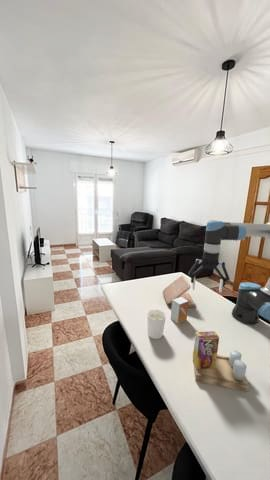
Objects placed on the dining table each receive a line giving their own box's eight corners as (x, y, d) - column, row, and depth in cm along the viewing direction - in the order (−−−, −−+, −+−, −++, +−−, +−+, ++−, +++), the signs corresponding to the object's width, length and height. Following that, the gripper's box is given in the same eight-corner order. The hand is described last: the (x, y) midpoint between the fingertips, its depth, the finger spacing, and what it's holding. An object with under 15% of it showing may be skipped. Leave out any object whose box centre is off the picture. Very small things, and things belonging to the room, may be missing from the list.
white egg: (237, 362, 88) (239, 350, 87) (240, 370, 84) (242, 358, 82) (227, 360, 89) (229, 348, 87) (229, 368, 84) (231, 356, 83)
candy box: (211, 360, 88) (215, 330, 85) (215, 368, 84) (220, 337, 81) (191, 361, 87) (195, 331, 84) (195, 369, 83) (199, 338, 80)
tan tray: (237, 364, 89) (238, 359, 89) (247, 391, 77) (249, 385, 76) (192, 356, 93) (193, 351, 92) (195, 381, 81) (196, 374, 80)
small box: (177, 324, 117) (179, 304, 114) (170, 318, 122) (171, 299, 119) (187, 320, 121) (189, 300, 118) (179, 314, 126) (181, 296, 124)
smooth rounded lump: (239, 372, 83) (242, 359, 82) (246, 381, 78) (248, 368, 77) (229, 372, 82) (232, 360, 81) (236, 381, 78) (238, 369, 77)
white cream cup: (149, 341, 102) (151, 321, 99) (144, 329, 111) (145, 310, 108) (167, 338, 104) (168, 318, 102) (160, 327, 114) (161, 308, 111)
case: (161, 293, 154) (163, 274, 151) (188, 293, 155) (190, 275, 152) (166, 308, 134) (168, 286, 131) (196, 308, 135) (199, 287, 132)
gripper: (235, 251, 100) (229, 289, 104) (185, 247, 104) (182, 284, 109) (240, 255, 93) (233, 296, 97) (186, 251, 97) (182, 290, 102)
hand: (206, 290), depth 103 cm, fingers open, 13 cm apart
